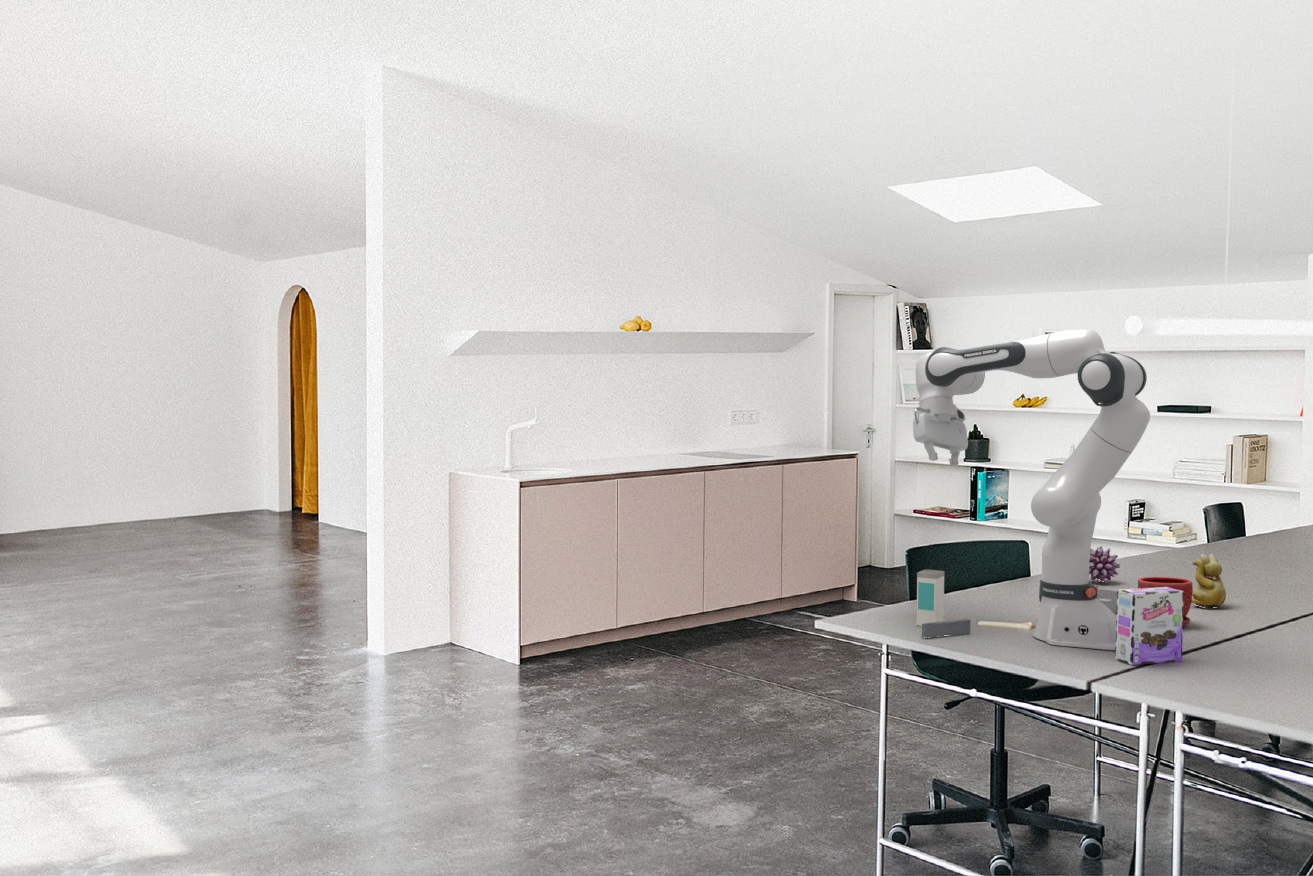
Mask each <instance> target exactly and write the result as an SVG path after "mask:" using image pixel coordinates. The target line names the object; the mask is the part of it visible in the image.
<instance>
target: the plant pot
mask: <svg viewBox="0 0 1313 876" xmlns="http://www.w3.org/2000/svg"><path fill="white" fill-rule="evenodd" d="M1193 586H1194V585H1193V581H1192V580H1190V579H1187V578H1180V577H1170V576H1169V577H1168V576H1149V577H1148V576H1147V577H1140V578H1138V579H1137V589H1139V588H1157V587H1169V588H1173V589H1177V590H1181V591H1183V592H1184V593H1183V627H1185V626H1187V625H1189V624H1190V622H1191V619H1190V617H1188V616H1187V615H1188V614H1189V611H1190V609H1191V607H1192V606H1191V605H1192V598H1193V596H1192V591H1193V590H1194V589H1193Z"/></svg>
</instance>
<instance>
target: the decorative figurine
mask: <svg viewBox="0 0 1313 876" xmlns="http://www.w3.org/2000/svg"><path fill="white" fill-rule="evenodd" d="M1208 556H1209V557H1208ZM1192 565H1193V566H1196V572H1195V577H1194V578H1195V581H1196V582H1197V583H1198V584H1197V585H1196V587H1195V588H1194V589H1193V591H1192V602H1191V604H1192V603H1193V604H1194V605H1195V604H1196V605H1199V606H1202V607H1205V608H1213V607H1219V608H1220V606H1222V605H1224V603H1225V601H1226V598H1227V591H1226V588H1225V586H1224V581H1222V578H1221V576H1220V575H1221V574H1222V571H1223V568H1222V565H1221V563H1220V562H1219V560H1218V558H1217V556H1216V555H1215V554H1213V553H1210V554H1209V555H1206V554H1203V553H1202V554H1200V559H1194V560H1193V561H1192Z"/></svg>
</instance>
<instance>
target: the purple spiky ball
mask: <svg viewBox="0 0 1313 876" xmlns="http://www.w3.org/2000/svg"><path fill="white" fill-rule="evenodd" d="M1110 552H1111V548H1107V550H1105V551H1104V548H1103V546H1102V545H1100V546H1099V547H1098V546H1097V547H1096V549H1095V550H1094V549H1092V547H1090V561H1089V575H1090V580H1093V581H1094V580H1096V579H1100V580H1101V581H1104V582H1105V579H1106V580H1107V581H1109V580H1112V578H1111V577H1113V578H1115V575H1117V576H1118V575H1119V573H1118V572H1117V570H1116V569H1120V567H1121V564H1120V563H1117V562H1116V560H1117V558H1118V557H1119V555H1118V554H1112V555H1111V553H1110Z"/></svg>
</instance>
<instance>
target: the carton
mask: <svg viewBox="0 0 1313 876" xmlns="http://www.w3.org/2000/svg"><path fill="white" fill-rule="evenodd" d="M944 604H945V570H937V569H929V568H928V569H923V570H920V571H917V572H916V626H917V625H920V626H919V627H921V626H922V624H925V623H934V622H943V621H944V620H945V619H944V617H945V616H944V615H945V614H944V613H945V612H944V611H945V610H944V609H945V607H944V606H945V605H944Z"/></svg>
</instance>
